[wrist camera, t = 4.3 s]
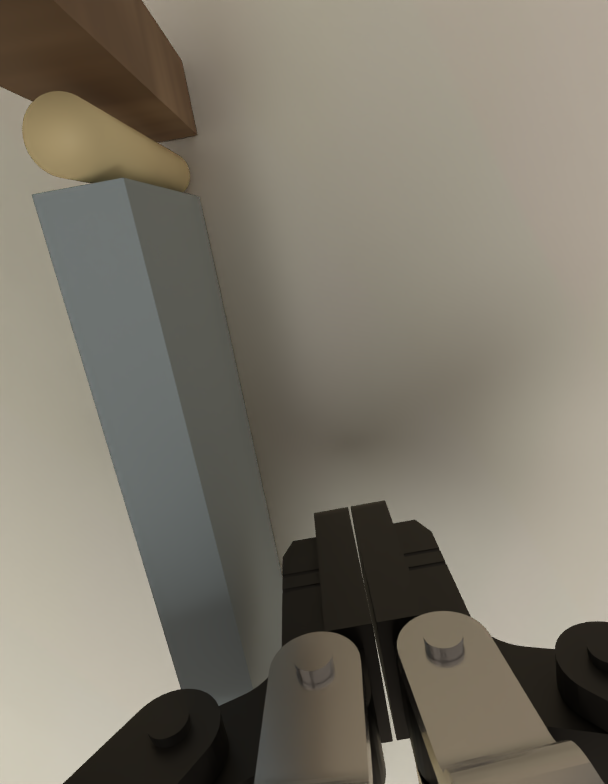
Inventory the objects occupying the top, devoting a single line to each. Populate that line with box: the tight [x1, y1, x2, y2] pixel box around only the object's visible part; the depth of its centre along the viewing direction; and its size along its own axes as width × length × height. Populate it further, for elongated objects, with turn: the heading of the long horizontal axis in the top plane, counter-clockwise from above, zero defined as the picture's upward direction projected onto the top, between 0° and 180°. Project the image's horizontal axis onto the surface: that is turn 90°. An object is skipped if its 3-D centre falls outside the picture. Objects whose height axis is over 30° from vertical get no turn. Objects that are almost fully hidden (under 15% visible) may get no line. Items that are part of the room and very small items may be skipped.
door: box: [22, 91, 283, 706], centre depth 13 cm, size 18×3×6 cm, turn 10°
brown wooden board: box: [0, 0, 197, 142], centre depth 12 cm, size 21×2×9 cm, turn 10°
